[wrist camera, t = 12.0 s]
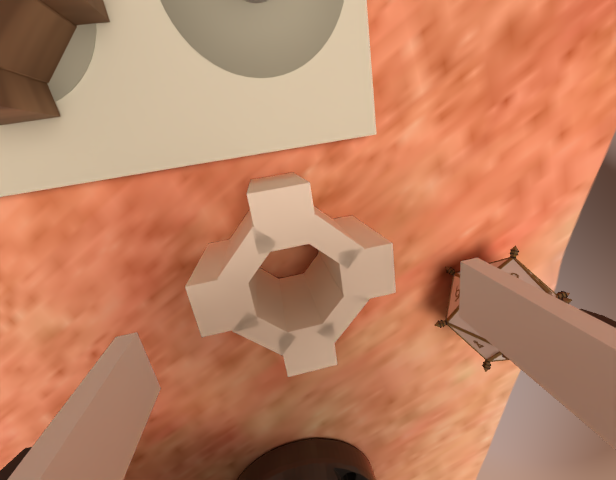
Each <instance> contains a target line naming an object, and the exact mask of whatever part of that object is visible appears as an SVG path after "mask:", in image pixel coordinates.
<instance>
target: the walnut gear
mask: <svg viewBox="0 0 616 480" xmlns="http://www.w3.org/2000/svg"><path fill="white" fill-rule="evenodd" d="M102 22H110V21H109V17H108V14H107V11H106V8H105V5H104V2H103V0H0V125H6V124H13V123H20V122H27V121H34V120H41V119H48V118H55V117H61V116H60V114H59V111H58V109H57V106H56V104H55V101H54V99H53V96H52V94H51V91H50V89H49V86H48V84H47V83H49V82H50V80H51V78H52V76H53V74H54V72H55V70H56V68H57V66H58V64H59V62H60V60H61V58H62V56H63V54H64V52H65V50H66V48H67V46H68V44H69V42H70V40H71V38H72V36H73V34H74V32H75V30H76V28H77V26H76V25H84V24H93V23H102Z"/></svg>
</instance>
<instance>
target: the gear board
mask: <svg viewBox="0 0 616 480" xmlns="http://www.w3.org/2000/svg"><path fill="white" fill-rule="evenodd" d="M103 2H104V5H105V8H106V11H107V14H108V17H109V21H110V22H102V23H93V24H84V25H76V26H77V28H76V30H75V32H74V34H73V36H72V38H71V40H70V42H69V44H68V46H67V48H66V50H65V52H64V54H63V56H62V58H61V60H60V62H59V64H58V66H57V68H56V70H55V72H54V74H53V76H52V78H51V80H50V82H49V83H47V84H48V86H49V89H50V91H51V94H52V96H53V99H54V101H55V104H56V106H57V109H58V111H59V114H60V116H61V117H55V118H48V119H41V120H34V121H27V122H20V123H13V124H6V125H0V197H3V196H9V195H15V194H21V193H27V192H33V191H39V190H45V189H51V188H57V187H63V186H69V185H75V184H81V183H87V182H93V181H99V180H105V179H111V178H117V177H123V176H129V175H135V174H141V173H147V172H153V171H159V170H165V169H171V168H177V167H183V166H189V165H195V164H201V163H207V162H213V161H219V160H226V159H232V158H238V157H244V156H250V155H256V154H262V153H268V152H274V151H280V150H286V149H292V148H298V147H304V146H310V145H316V144H322V143H328V142H334V141H340V140H346V139H352V138H358V137H364V136H370V135H376V121H375V108H374V94H373V81H372V67H371V54H370V41H369V27H368V14H367V0H103Z"/></svg>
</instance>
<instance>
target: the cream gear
mask: <svg viewBox="0 0 616 480" xmlns="http://www.w3.org/2000/svg"><path fill="white" fill-rule="evenodd" d="M247 198H248V203H249V207H250V210H249V211H248V213H247V214H246V216H245V217H244V219H243V220H242V222H241V223H240V225H239V226H238V228H237V229H236V231H235V232H234V234H233V235H232V237H231V238H230V239H228V240H223V241H218V242H213V243H208V245H207V247H206V249H205V251H204V253H203V254H202V256H201V258H200V260H199V262H198V264H197V266H196V267H195V269H194V271H193V273H192V275H191V277H190V278H189V280H188V282H187V284H186V286H185V289H186V292H187V295H188V298H189V301H190V304H191V307H192V310H193V313H194V316H195V319H196V322H197V325H198V328H199V331H200V334H201V337H206V336H210V335H215V334H219V333H223V332H228V331H232V332H234V333H237V334H239V335H241V336H243V337H245V338H247V339H249V340H251V341H253V342H255V343H257V344H259V345H261V346H263V347H265V348H267V349H270V350H272V351H274V352H276V353H278V354H280V355H283V357H284V362H285V366H286V371H287V375H288V377H291V376H295V375H299V374H303V373H307V372H311V371H315V370H318V369H322V368H326V367H330V366H334V365H338V364H337V357H336V351H335V344H334V342H336V341H337V340H338V338H339V337H340V336H341V335H342V333H343V332H344V331H345V330H346V328H347V327H348V326H349V325H350V323H351V322H352V321H353V320H354V318H355V317H356V316H357V314H358V313H359V312H360V311H361V309H362V308H363V307H364V306H365V304H366V303H367V302H368V301H369V299H371V298H375V297H379V296H384V295H388V294H392V293H396V287H395V272H394V256H393V243H392V242H390V241H389V240H387V239H386V238H384V237H383V236H382V235H380V234H379V233H377V232H376V231H374V230H373V229H371V228H370V227H368V226H367V225H366V224H364V223H363V222H361V221H360V220H358V219H357V218H355V217H354V216H352V215H350V216H345V217H340V218H335V219H332V218H330V217H329V216H328V215H326V214H325V213H323V212H322V211H321V210H319V209H318V208H316V207H315V206H313V200H312V193H311V186H310V182H308V181H306V180H305V179H303V178H302V177H300V176H298V175H297V174H295V173H293V172H292V173H286V174H280V175H274V176H269V177H263V178H257V179H252V180H250V183H249V187H248V191H247ZM306 244H310V245H312V246H313V247H315V248H316V249H318V255H317V256H316V257H315V259H314V260H313V261H312V263H311V264H310V265H309V267H308V268H307V269H306V271H305V272H304V273H303V274H298V275H294V276H289V277H284V278H280V279H278V278H277V277H275V276H273V275H272V274H270V273H268V272H266V271H265V270H263V269H261V268H260V266H261V264H262V263H263V261H264V260H265V258H266V257H267V256H268V254H269V253H270V252H272V251H277V250H282V249H286V248H291V247H296V246H301V245H306Z"/></svg>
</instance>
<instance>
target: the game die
mask: <svg viewBox="0 0 616 480" xmlns="http://www.w3.org/2000/svg"><path fill="white" fill-rule="evenodd" d="M518 252H519V251H518V249H517V247H516V246H515V247H513V248H512V249H511V252H510V257H509V258H506V259H502V260H498V261H495V262H491V263H489V264H491V265H493V266H495V267H497V268H499V269H501V270H503V271H505V272H507V273H509V274H510V275H512V276H514V277H516V278H518V279H520V280H522V281H524V282H526V283H528V284H530V285H532V286H534V287H536V288H538V289H540V290H542V291H544V292H546V293H548V294H550V295H552V296H554V297H556V298H558V299H560V300H562V301H563V302H565V303H567V304H569V302H571V301H572V300H571V299H568V298H567V297H568V295H569V293H566V292H563V291H561V292H558V293H557V294H556V293H555V292H553V291H552V290H551V289H550V288H549V287H548V286H547V285H546V284H544V283H543V282H542V281H541V280H540V279H539V278H538V277H536V276H535V275H534V274H533V273H532V272H531V271H530V270H529V269H527V268H526V267H525V266H524V265H523V264H522V263H521V262H519V261H518V260H517V259H516V256H517V255H518ZM445 268H446V271H447V272H448V273H449V274H451V275H453V278H452V284H451V290H450V296H449V302H448V308H447V314H446V319H445V321H442V320H441V321H439V320H438V322H437V323H436V324H435V326H438V327H440V328H441V327H444V326H445V325H448V326H449V327H450V328H451V329H452V330H453V331H455V332H456V333H457V334H458V335H459V336H460V337H461V338H462V339H463V340H464V341H466V342H467V343H468V344H469V345H470V346H471V347H472V348H473V349H474V350H475V351H477V352H478V353H479V354H480V355H481V356H482V357H483V358H484V359H485V362H483V363H484V364H483V365H482V366H483V367H484V370H485V372H486V371H487V370H489V369H490V368H491V367H490V366H491V364H490V362H493V361H503V360H509V359H508V358H507V357H506V356H505V355H504V354H502V353H501V352H500V351H499V350H498V349H497V348H495V347H494V346H493V345H492V344H491V343H490V342H488V341H487V340H486V339H485V338H484V337H482V336H481V335H480V334H479V333H478V332H477V331H475V330H474V329H473V328H472V327H471V326H470V325H468V324H467V323H466V322H465V321H464V320H463V319H461V318H460V317H459V302H460V271H459V272H455V271H454V269H452V268H449V267H445Z"/></svg>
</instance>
